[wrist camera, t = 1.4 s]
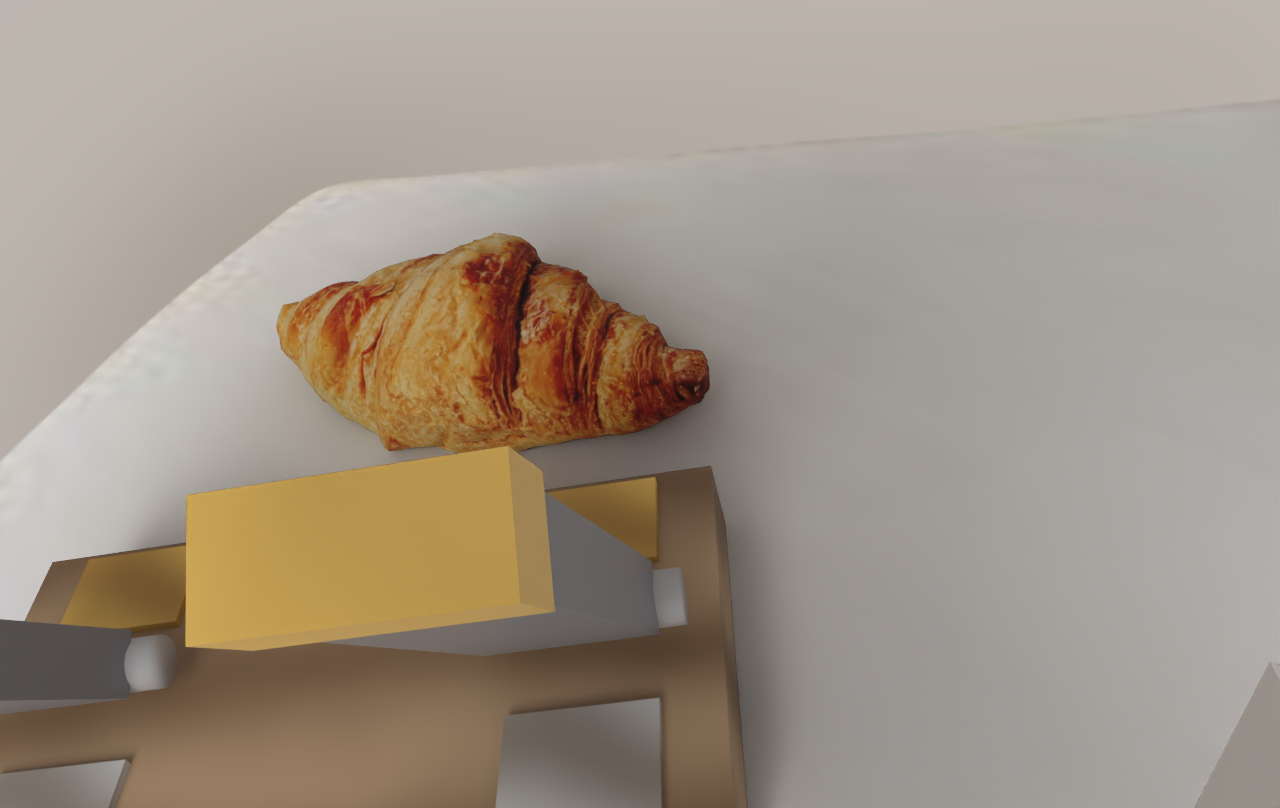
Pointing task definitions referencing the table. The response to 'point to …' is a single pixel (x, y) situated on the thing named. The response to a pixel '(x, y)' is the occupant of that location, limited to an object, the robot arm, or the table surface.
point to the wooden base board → (405, 698)
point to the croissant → (486, 353)
